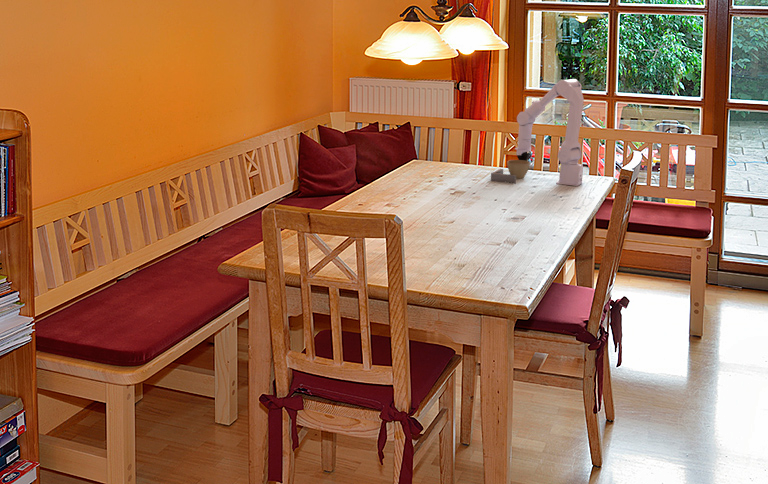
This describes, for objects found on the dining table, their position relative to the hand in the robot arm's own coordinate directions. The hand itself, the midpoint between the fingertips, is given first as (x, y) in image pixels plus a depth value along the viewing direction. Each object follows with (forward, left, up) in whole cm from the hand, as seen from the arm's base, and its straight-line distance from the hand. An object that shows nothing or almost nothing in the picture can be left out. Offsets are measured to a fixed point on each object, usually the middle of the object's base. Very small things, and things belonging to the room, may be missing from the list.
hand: (522, 169), depth 372 cm
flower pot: (0, +7, -3) cm, 7 cm away
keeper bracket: (+2, +14, -3) cm, 14 cm away
